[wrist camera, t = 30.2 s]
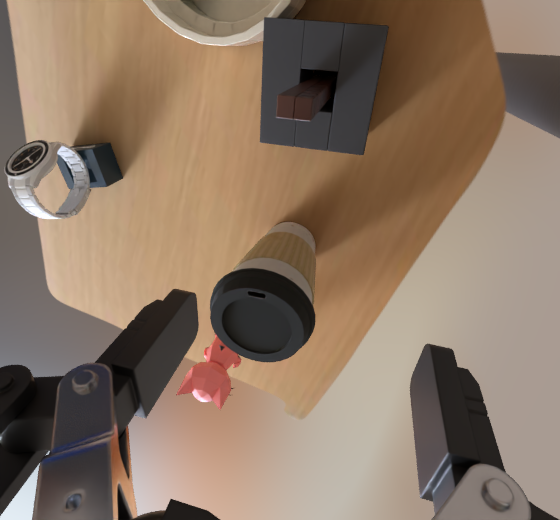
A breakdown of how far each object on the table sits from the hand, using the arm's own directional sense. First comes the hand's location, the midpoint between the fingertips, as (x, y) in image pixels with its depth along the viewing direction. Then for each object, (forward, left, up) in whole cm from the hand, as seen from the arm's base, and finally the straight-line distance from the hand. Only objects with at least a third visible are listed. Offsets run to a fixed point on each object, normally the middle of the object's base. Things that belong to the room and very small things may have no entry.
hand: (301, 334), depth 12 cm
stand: (+3, -5, -27) cm, 28 cm away
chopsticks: (+3, -5, -27) cm, 28 cm away
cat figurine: (+13, +31, -28) cm, 43 cm away
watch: (+30, +6, -28) cm, 41 cm away
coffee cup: (+5, +13, -28) cm, 31 cm away
